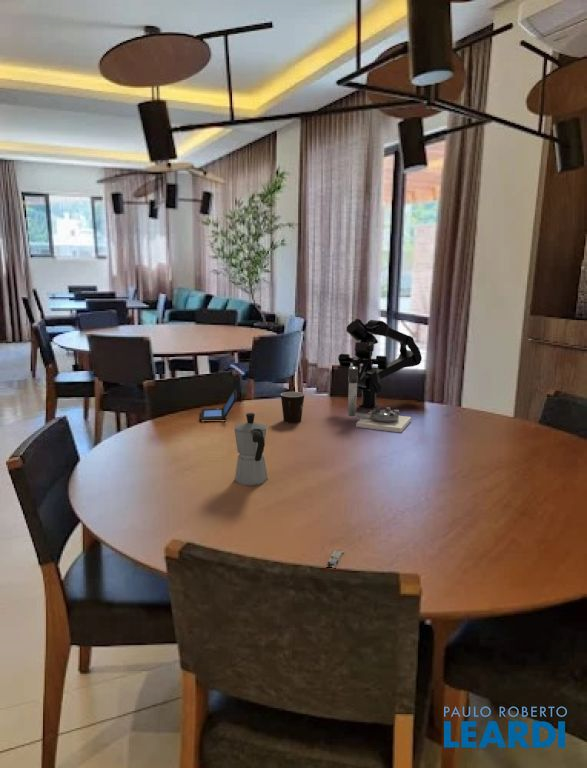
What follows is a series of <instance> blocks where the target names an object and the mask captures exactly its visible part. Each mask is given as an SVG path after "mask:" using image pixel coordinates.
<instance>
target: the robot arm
mask: <svg viewBox="0 0 587 768" xmlns="http://www.w3.org/2000/svg"><path fill="white" fill-rule="evenodd" d="M345 331H346V332H347V333H348V334H349V336H351V337H352V338H353V339H354V340H355V341H357V342H355V346H354V352H355V354H354V355H355V356H352V357H350V356H351V355H350V353H340V354H339V355H338V358H337V359H338V363H339V366H340V367H341V368H349V367H351V364H352V367H358V383H357V390H361V403H359V404H358V407H366V408H373V409H374V408H375V407H377V406H378V405H379V403H378V402H377V394H378V393H381V391H382V388H383V387H382V386H381V385H380V382H381V380H383V379H385V378H386V377H389V376H390V375H393V374H395V373H397V372H398V371H400V370H403V369H404V368H412V367H415V366H419V365H420V364H421V362H422V354H421V350H420V348H419V347H418V345H417V344H416V343H415V339H414V337H413V336H411V335H408V334H405V333H403V332H401V331H398V330H396V329H394V328H392V327H390V326H389V324H387V323H386V322H385V321H383V320H377V319H369V320H368V321H367V323H363V322H362V320H361V319H360V318H355V319H354V321H351V322H350V323H349V324H348V325H347V326H346V329H345ZM374 335H375V336H374ZM376 336H383V337H385V338H387V339H390V340H392V341H394V342H397V343H399V344H400V345H399V346H400V347H399V353H400V354H399V355H398V357H397V358H396V359H394V360H392V361H390V362H388V357H387V356H386V355H376V356H375V358H372V356H373V352H374V348H375V345H376V344H378V343H379V341H378V339H377V338H376ZM358 341H359V342H358ZM407 347H408V349H407ZM361 365H362V366H361ZM373 365H377V368H376V369H373Z"/></svg>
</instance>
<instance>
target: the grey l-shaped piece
mask: <svg viewBox="0 0 587 768" xmlns="http://www.w3.org/2000/svg"><path fill="white" fill-rule="evenodd" d="M347 379H348V381H347V382H348V398H347V399H348V400H347V402H348V403H347V404H348V405H347V416H348V417H359V418H363V417H367V418H371V419H372V420H374V421H378V422H395V421H398V420H399V416H400V410H399V409H393V410H392V409H391V407H389V406H386V407H385V409H381V408H380V407H377V406H376V407H374V408H373V409H370V413H369V412H361V411H360V412H359V411H357V401H358V400H357V398H358V396H357V393H358V386H357V383H358V367H353V366H350V367H348V377H347Z"/></svg>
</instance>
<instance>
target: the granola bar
mask: <svg viewBox="0 0 587 768" xmlns="http://www.w3.org/2000/svg"><path fill="white" fill-rule="evenodd" d="M343 554H345V551H344V550H342V551H341V550H340V551H339V550H334V549H333V550H332V553H331V555H330V557H329V559H328V560H327V563H326V564H325V566H324V567H332V566H335V568H336V569H337V566H338V564H339V562H340V559H341V558H342V556H343Z"/></svg>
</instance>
